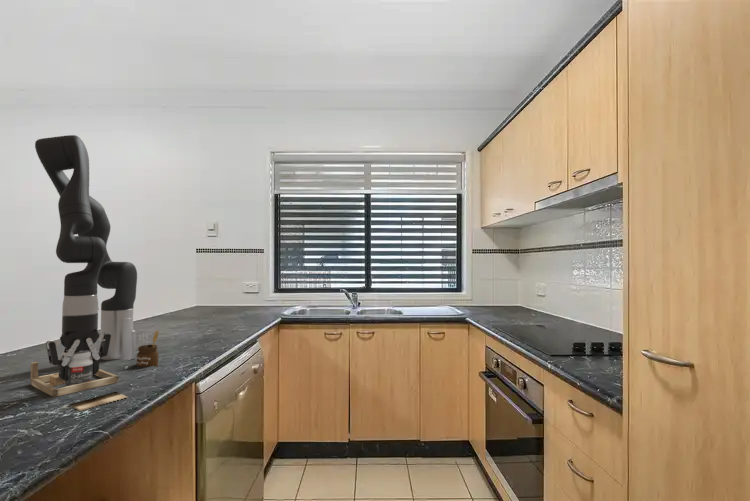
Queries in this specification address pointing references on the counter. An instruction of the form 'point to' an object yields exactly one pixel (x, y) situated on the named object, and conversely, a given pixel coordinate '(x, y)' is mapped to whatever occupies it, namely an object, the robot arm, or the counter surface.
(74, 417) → the counter surface
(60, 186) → the robot arm
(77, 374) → the pill bottle
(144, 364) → the utensil holder
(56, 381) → the offcut top
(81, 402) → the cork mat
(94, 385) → the rack
